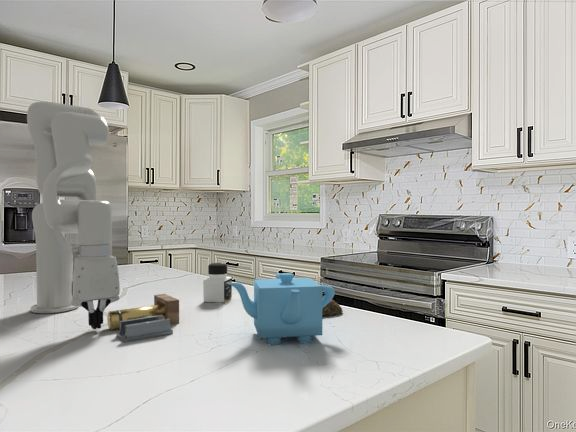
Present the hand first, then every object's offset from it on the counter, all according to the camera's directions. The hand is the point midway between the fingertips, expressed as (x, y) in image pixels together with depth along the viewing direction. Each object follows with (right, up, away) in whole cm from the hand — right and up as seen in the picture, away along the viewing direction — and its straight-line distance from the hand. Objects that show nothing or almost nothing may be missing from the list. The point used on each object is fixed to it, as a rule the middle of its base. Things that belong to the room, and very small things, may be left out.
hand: (95, 327), depth 104 cm
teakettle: (+45, -1, -5) cm, 45 cm away
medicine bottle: (+24, -1, +35) cm, 42 cm away
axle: (+8, -1, +6) cm, 10 cm away
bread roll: (+56, -1, +19) cm, 59 cm away
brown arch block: (+14, -1, +11) cm, 18 cm away
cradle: (+13, -1, -3) cm, 13 cm away
